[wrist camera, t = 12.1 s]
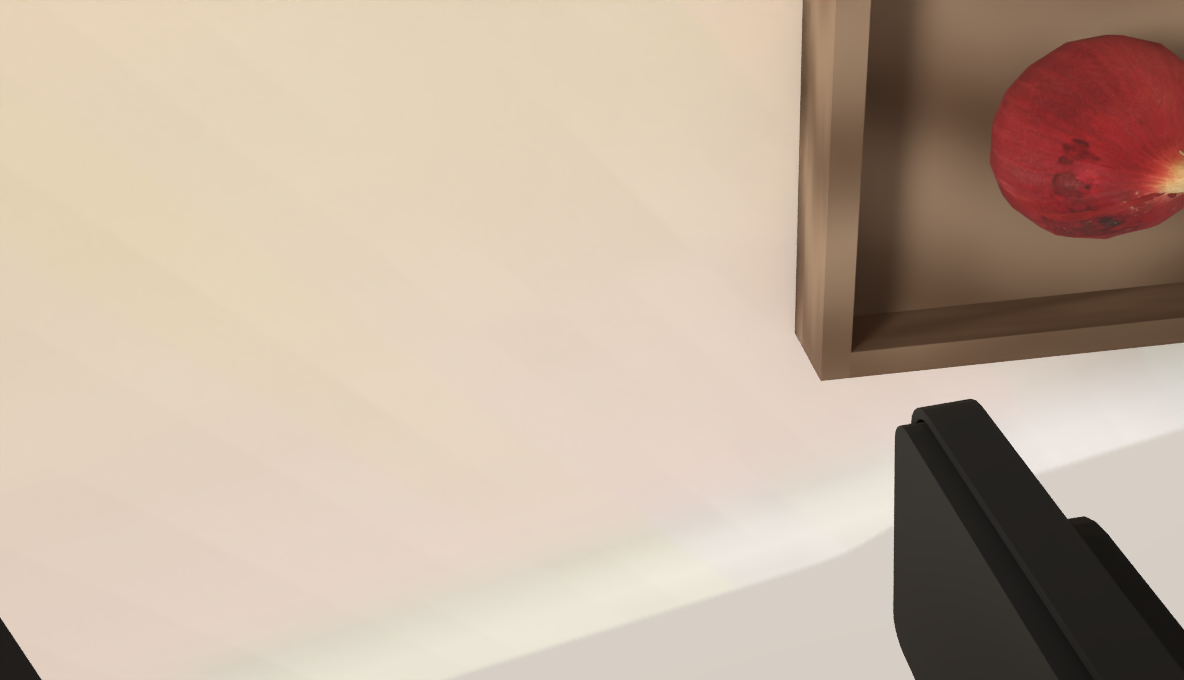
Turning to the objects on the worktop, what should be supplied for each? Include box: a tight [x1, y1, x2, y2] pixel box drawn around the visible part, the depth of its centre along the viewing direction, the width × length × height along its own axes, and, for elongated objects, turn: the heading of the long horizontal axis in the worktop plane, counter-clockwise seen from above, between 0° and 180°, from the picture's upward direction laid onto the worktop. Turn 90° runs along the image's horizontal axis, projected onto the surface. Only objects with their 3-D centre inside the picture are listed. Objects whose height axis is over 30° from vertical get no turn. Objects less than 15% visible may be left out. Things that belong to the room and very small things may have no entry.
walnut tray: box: [795, 0, 1184, 381], centre depth 31 cm, size 16×16×4 cm
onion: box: [990, 35, 1184, 239], centre depth 28 cm, size 6×6×8 cm
